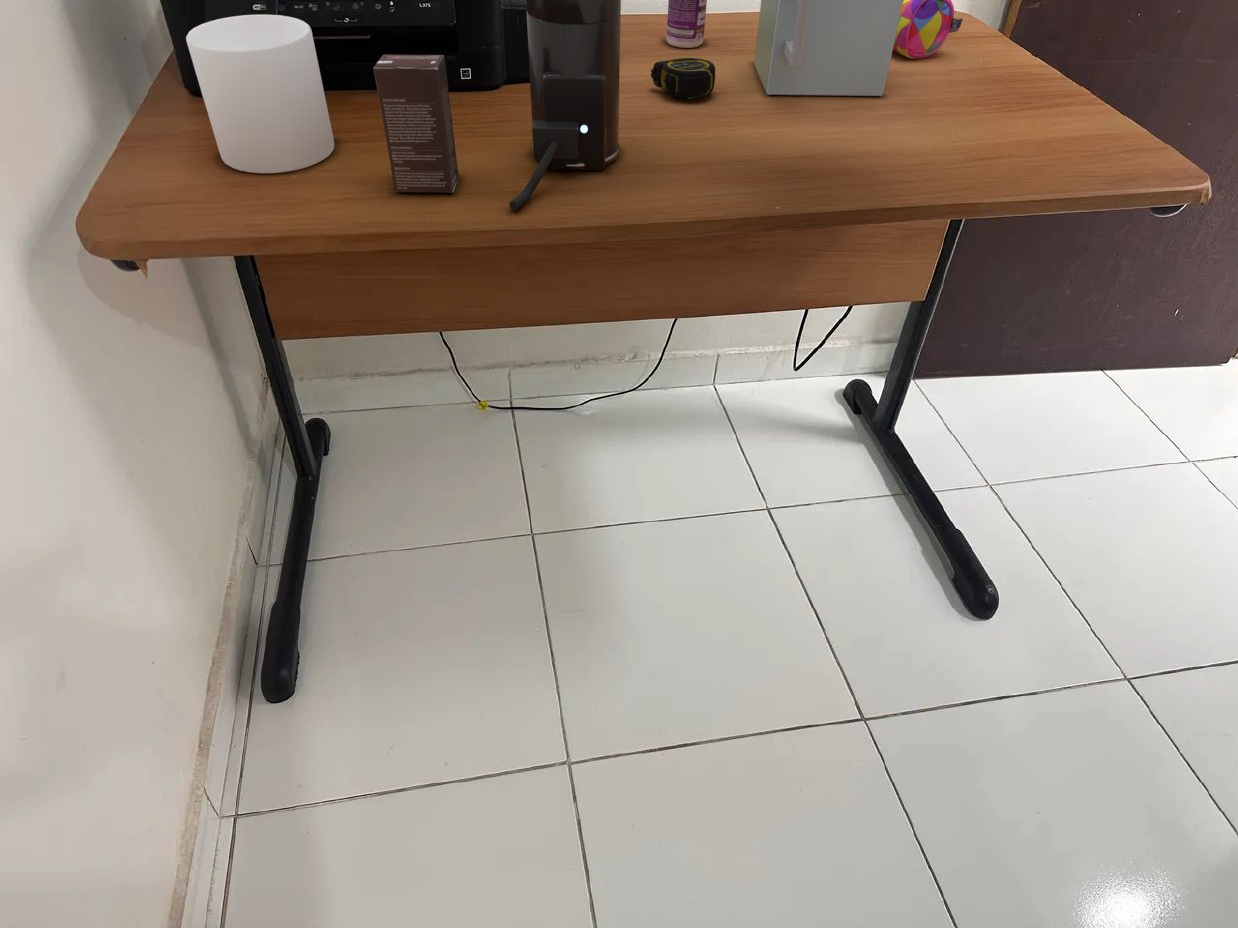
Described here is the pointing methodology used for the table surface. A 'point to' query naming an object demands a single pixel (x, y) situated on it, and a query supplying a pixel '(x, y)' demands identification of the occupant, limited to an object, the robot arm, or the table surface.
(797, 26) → the cabinet door
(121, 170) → the table surface
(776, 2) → the cabinet
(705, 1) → the pill bottle
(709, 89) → the tape measure
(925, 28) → the colorful pencil case
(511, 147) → the table surface
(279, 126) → the white cylinder
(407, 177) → the box
